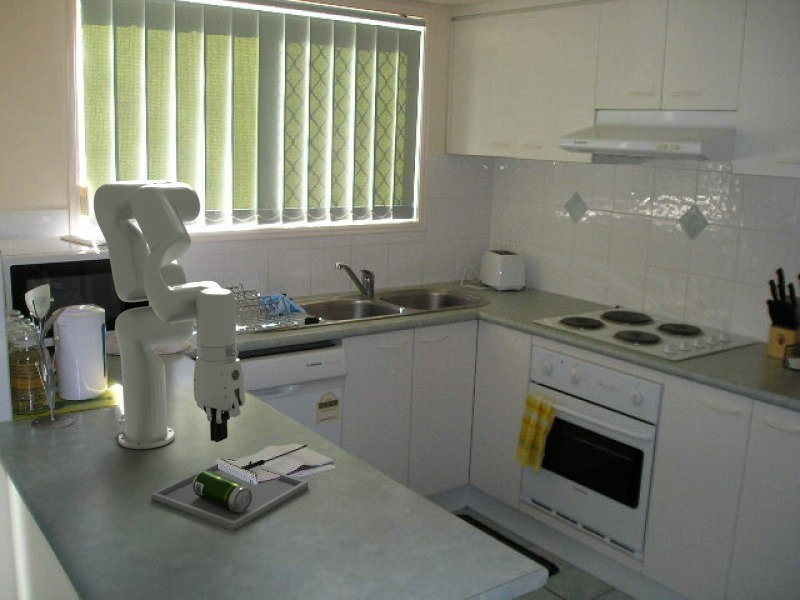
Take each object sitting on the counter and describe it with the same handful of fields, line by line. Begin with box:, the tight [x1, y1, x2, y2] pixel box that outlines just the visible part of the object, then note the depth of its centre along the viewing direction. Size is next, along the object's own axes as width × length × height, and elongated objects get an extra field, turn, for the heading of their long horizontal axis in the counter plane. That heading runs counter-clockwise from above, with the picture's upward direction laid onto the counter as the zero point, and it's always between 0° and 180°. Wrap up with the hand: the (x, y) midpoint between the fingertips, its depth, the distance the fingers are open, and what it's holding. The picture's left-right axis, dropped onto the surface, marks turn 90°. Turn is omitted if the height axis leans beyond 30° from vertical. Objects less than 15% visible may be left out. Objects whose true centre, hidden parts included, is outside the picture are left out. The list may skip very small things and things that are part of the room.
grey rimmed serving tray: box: [150, 456, 309, 532], centre depth 167 cm, size 22×22×2 cm
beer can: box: [193, 470, 253, 513], centre depth 162 cm, size 5×5×12 cm
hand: (219, 439), depth 167 cm, fingers closed
